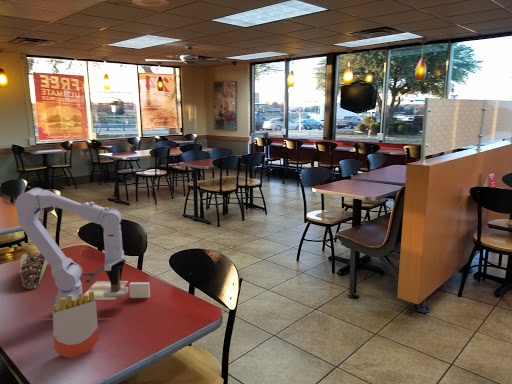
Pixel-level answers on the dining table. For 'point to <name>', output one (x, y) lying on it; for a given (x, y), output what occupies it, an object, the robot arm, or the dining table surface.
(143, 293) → the tile
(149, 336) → the dining table surface
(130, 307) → the dining table surface
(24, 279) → the taco
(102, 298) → the board
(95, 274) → the bracket
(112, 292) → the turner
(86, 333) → the french fries container
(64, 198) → the robot arm
